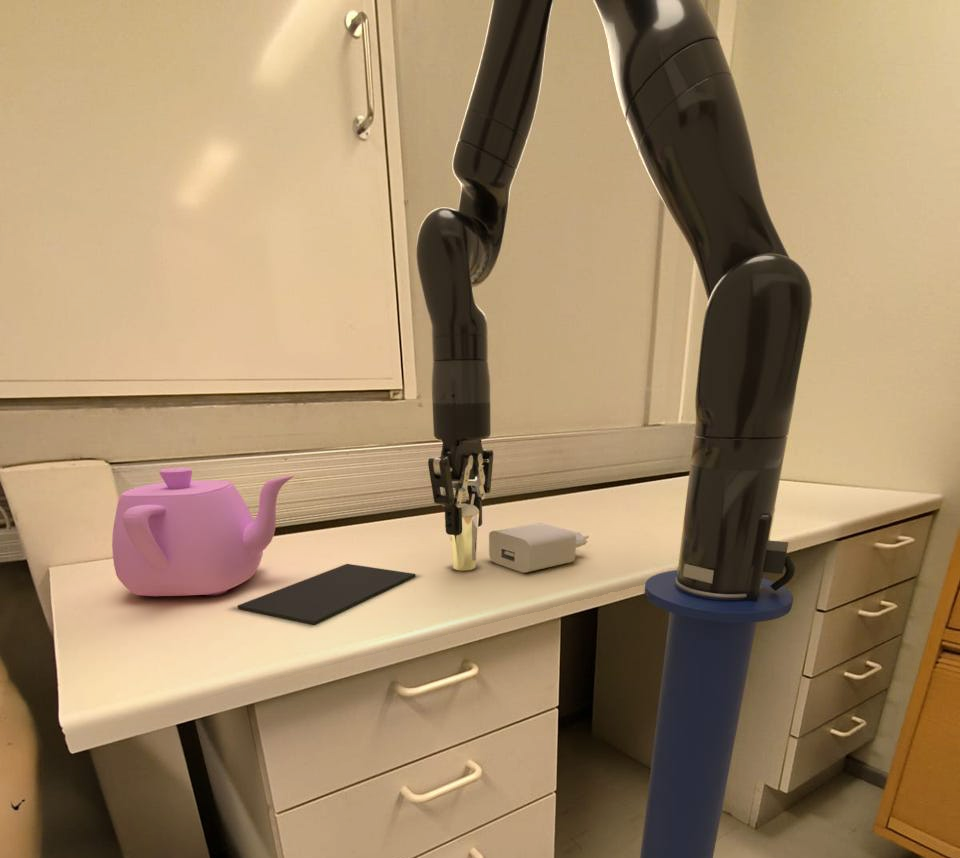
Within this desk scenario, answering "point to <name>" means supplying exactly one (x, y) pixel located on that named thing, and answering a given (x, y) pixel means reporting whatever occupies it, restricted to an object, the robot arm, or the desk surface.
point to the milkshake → (466, 539)
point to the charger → (534, 546)
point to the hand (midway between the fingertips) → (464, 529)
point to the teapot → (190, 535)
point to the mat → (326, 593)
